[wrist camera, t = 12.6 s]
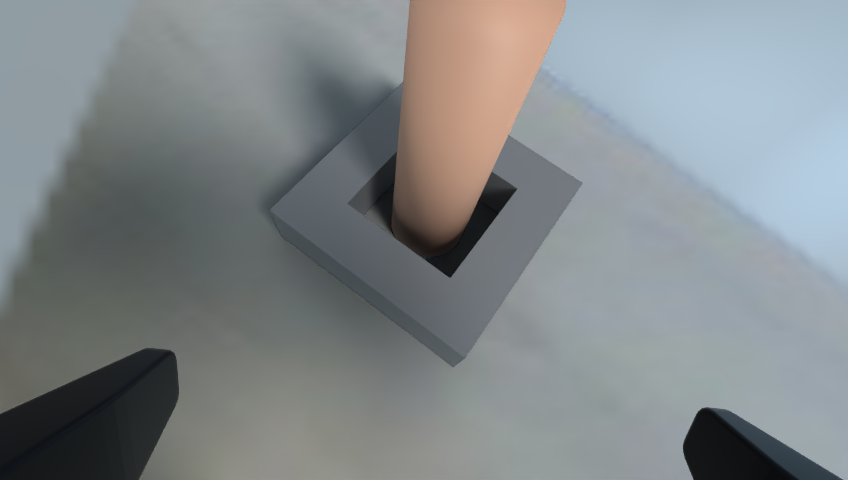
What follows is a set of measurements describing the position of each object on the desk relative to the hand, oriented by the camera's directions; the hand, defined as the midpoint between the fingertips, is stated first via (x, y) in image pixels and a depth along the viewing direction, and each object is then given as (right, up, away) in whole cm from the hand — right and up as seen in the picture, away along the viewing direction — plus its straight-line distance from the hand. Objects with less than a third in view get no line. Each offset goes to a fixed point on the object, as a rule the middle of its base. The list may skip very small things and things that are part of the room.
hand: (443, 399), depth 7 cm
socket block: (0, +4, +16) cm, 17 cm away
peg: (0, +4, +16) cm, 17 cm away
